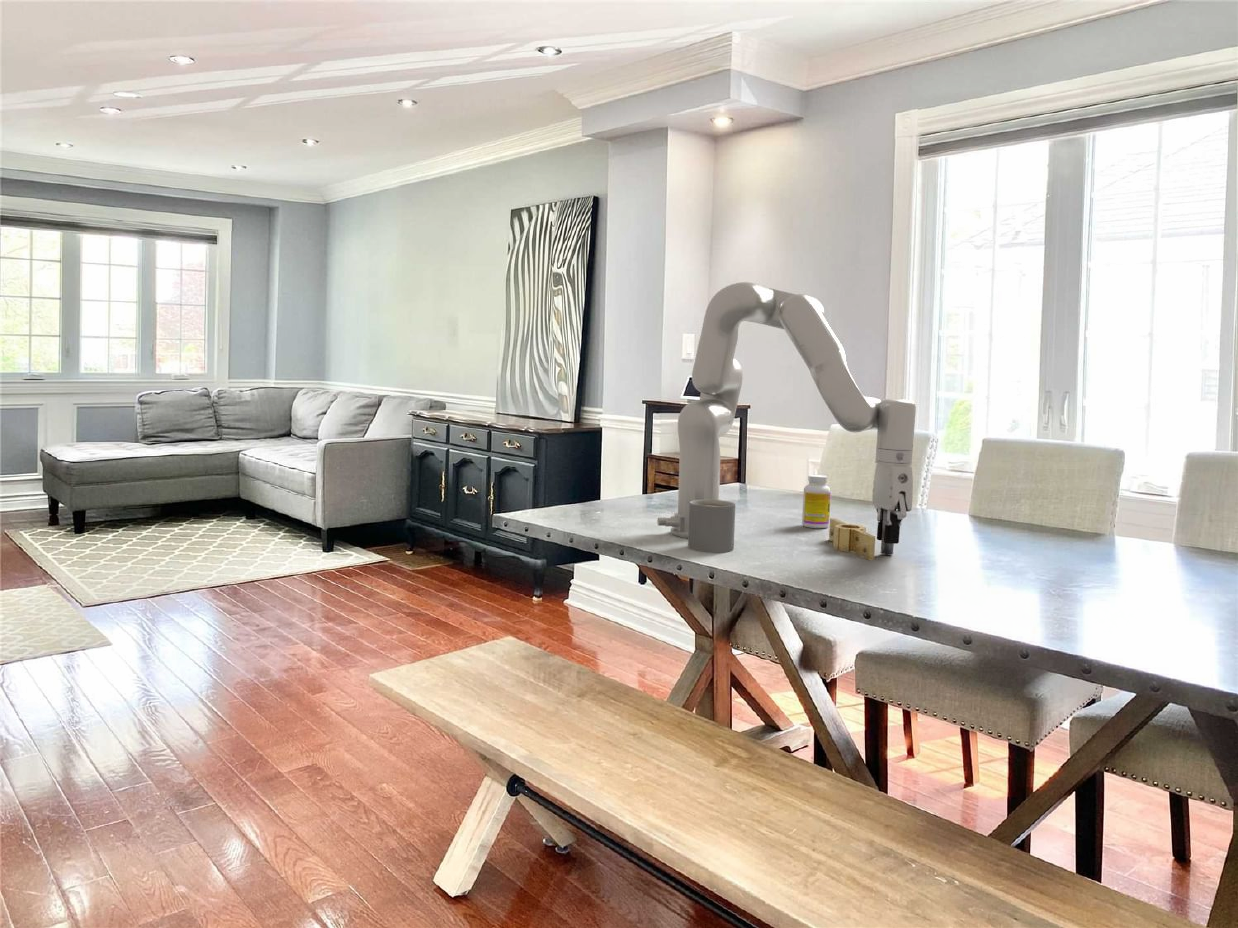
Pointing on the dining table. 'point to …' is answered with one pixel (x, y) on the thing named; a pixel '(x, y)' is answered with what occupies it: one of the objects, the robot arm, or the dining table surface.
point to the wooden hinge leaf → (832, 525)
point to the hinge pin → (884, 547)
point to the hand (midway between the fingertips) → (887, 540)
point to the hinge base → (854, 540)
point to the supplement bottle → (816, 502)
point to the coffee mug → (711, 526)
